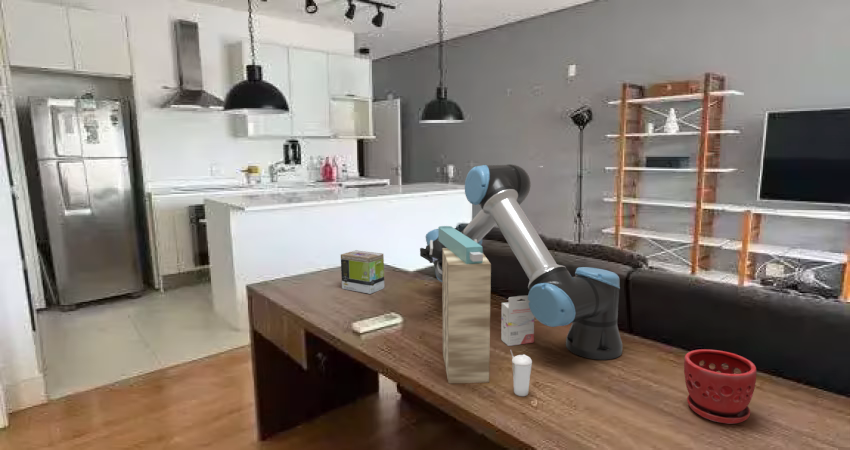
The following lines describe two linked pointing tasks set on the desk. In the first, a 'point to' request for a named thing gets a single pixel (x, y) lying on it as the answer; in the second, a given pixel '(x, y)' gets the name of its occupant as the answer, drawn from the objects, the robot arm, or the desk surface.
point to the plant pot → (719, 385)
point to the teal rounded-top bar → (460, 245)
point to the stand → (466, 318)
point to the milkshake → (521, 374)
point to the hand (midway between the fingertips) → (453, 243)
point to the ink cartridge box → (517, 321)
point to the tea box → (362, 271)
